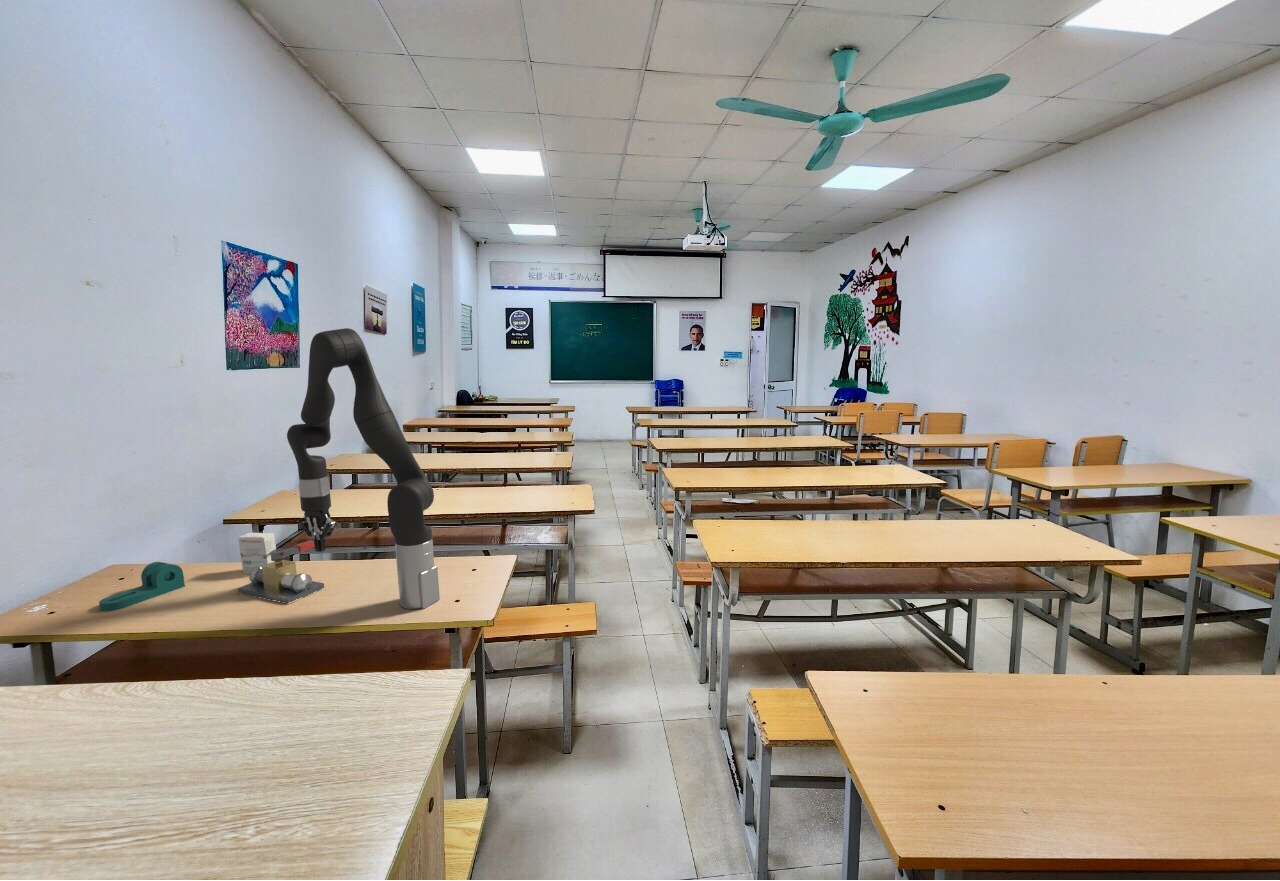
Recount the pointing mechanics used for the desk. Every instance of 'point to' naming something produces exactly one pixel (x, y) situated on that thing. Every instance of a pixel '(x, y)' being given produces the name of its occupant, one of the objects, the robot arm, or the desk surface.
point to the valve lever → (292, 550)
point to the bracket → (147, 586)
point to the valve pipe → (279, 582)
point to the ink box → (256, 550)
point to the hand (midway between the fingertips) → (320, 550)
